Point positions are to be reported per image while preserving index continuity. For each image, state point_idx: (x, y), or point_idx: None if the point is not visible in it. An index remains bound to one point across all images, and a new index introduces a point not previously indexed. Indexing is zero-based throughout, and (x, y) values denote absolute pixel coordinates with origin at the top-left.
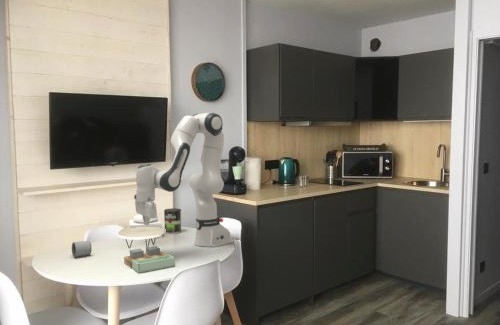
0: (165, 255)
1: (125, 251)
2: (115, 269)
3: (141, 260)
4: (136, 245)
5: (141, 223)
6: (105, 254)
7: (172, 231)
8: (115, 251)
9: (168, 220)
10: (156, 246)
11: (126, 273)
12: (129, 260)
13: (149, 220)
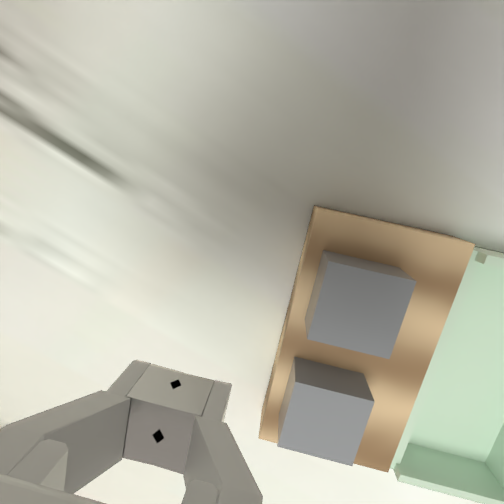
0: (462, 260)
1: (44, 282)
2: (325, 489)
3: (415, 421)
4: None
5: None
6: (33, 383)
7: None
8: (8, 319)
9: None
10: (346, 267)
11: (430, 495)
12: (354, 461)
13: (235, 442)
